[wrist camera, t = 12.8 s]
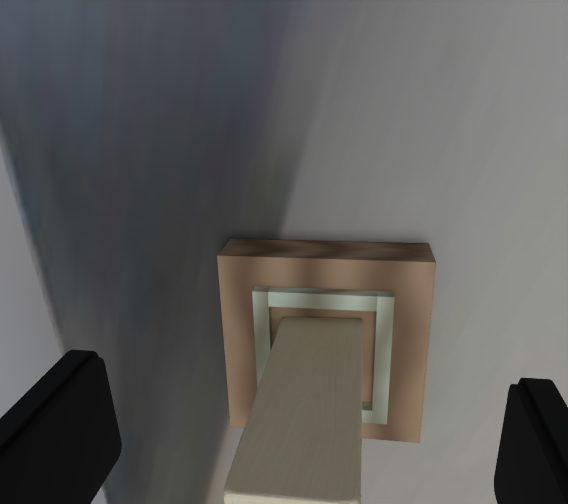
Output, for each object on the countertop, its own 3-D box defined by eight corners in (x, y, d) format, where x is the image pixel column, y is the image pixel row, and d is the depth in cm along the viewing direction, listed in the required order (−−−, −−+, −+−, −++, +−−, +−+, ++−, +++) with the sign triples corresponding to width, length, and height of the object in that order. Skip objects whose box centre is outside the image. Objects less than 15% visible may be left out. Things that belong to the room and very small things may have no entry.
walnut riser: (428, 243, 47) (438, 267, 41) (414, 411, 54) (420, 451, 48) (230, 238, 50) (213, 260, 44) (241, 397, 57) (227, 434, 51)
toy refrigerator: (283, 379, 49) (233, 581, 30) (279, 316, 47) (221, 490, 27) (362, 383, 48) (363, 596, 28) (362, 317, 45) (363, 502, 26)
